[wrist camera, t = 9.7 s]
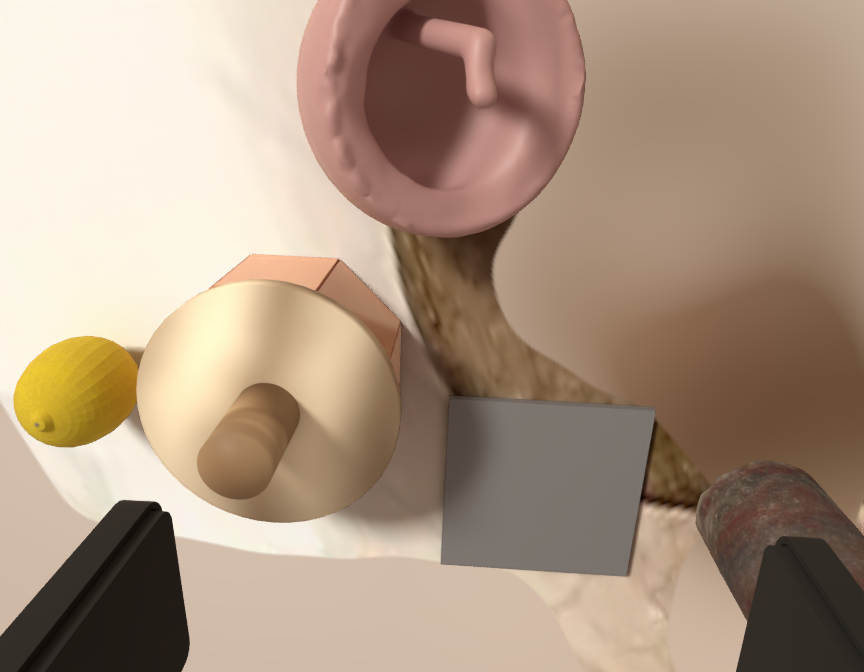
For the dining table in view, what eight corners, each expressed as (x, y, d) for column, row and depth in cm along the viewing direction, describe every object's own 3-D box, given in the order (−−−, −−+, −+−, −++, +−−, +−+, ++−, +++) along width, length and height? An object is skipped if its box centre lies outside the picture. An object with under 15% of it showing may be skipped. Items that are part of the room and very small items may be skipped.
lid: (404, 286, 31) (390, 332, 26) (398, 518, 36) (385, 599, 30) (130, 272, 32) (57, 313, 26) (160, 503, 36) (104, 580, 31)
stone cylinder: (706, 441, 40) (912, 757, 21) (829, 451, 40) (1146, 779, 21) (680, 545, 43) (843, 906, 24) (796, 555, 43) (1050, 926, 24)
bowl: (402, 261, 37) (391, 294, 31) (398, 450, 41) (387, 509, 36) (188, 250, 37) (139, 281, 32) (206, 439, 42) (165, 494, 36)
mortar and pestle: (558, 210, 36) (596, 267, 25) (334, 208, 36) (279, 262, 25) (575, -47, 31) (632, -111, 21) (321, -45, 32) (248, -107, 21)
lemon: (128, 302, 39) (47, 356, 31) (180, 381, 40) (115, 450, 33) (52, 339, 40) (-43, 399, 32) (106, 415, 42) (27, 489, 34)
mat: (653, 407, 39) (655, 410, 39) (624, 571, 44) (626, 576, 43) (449, 395, 40) (449, 399, 39) (440, 559, 44) (440, 564, 44)
